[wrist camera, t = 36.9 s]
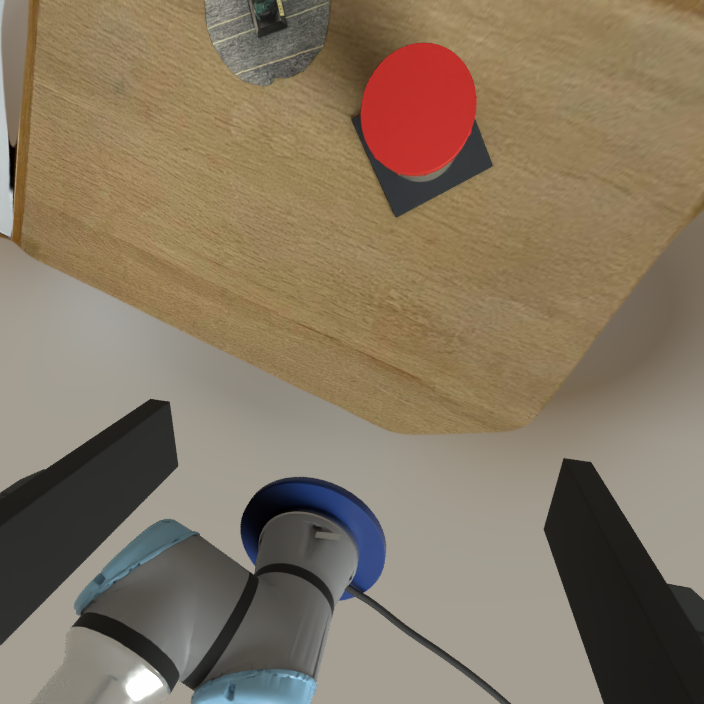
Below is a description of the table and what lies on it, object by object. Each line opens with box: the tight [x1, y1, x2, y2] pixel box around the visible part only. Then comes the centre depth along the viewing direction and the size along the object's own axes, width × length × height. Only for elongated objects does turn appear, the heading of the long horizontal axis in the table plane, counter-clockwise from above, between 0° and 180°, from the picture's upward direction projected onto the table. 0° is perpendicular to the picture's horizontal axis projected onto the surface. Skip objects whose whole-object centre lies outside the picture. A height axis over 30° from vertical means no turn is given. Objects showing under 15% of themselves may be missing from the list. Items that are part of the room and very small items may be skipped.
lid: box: [361, 43, 477, 176], centre depth 26 cm, size 8×8×2 cm
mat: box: [352, 114, 493, 217], centre depth 37 cm, size 10×10×1 cm
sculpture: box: [205, 0, 330, 86], centre depth 36 cm, size 12×9×8 cm
